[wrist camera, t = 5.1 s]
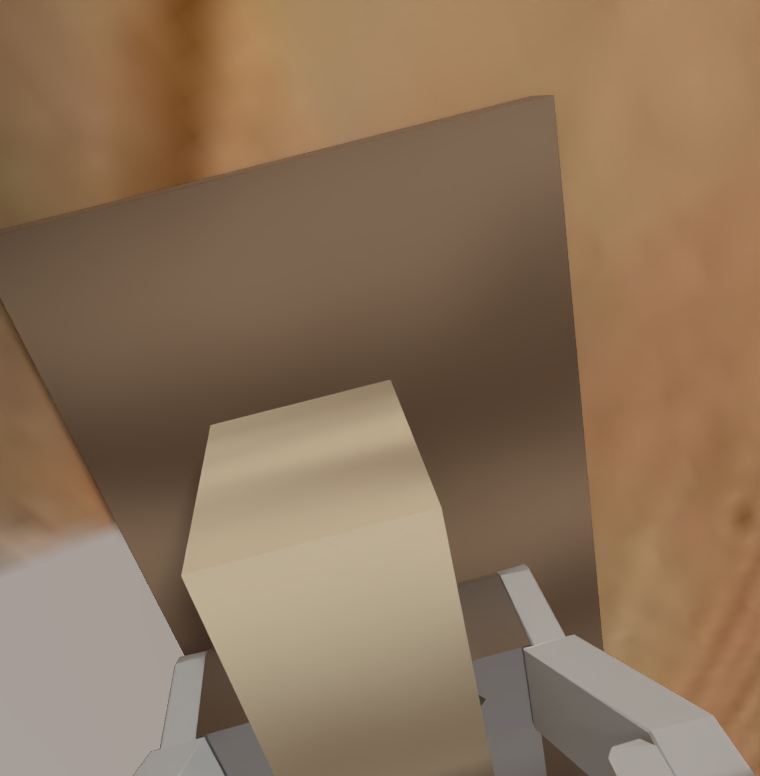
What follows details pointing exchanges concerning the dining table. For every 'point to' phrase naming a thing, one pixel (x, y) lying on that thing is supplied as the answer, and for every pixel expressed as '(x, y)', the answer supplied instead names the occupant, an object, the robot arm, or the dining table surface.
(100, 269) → the board
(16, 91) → the dining table surface
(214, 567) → the beige upright plank
